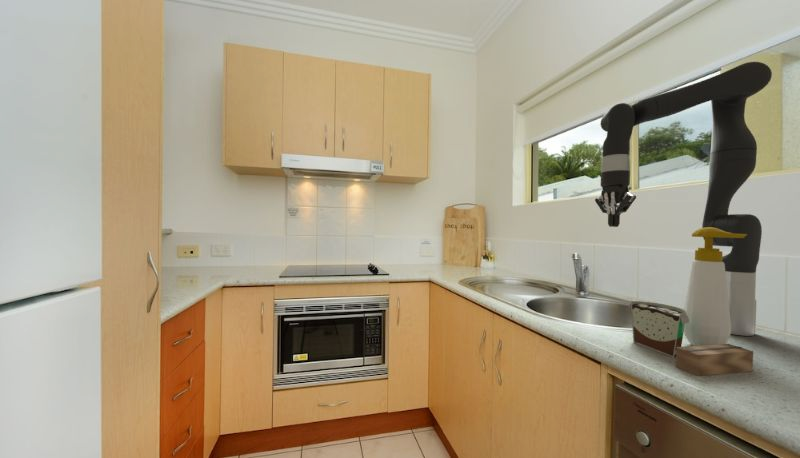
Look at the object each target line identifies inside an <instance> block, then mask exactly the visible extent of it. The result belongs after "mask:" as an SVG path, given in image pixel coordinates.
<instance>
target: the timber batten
mask: <svg viewBox="0 0 800 458" xmlns="http://www.w3.org/2000/svg"><path fill="white" fill-rule="evenodd" d="M753 366H754V351H753V350H750V349H747V348H744V347H742V346H737V345H734V344H730V343H726V344H718V345H702V346H693V345H691V346H688V345H687V346H681V347H676V357H675V368H678V369H681V370H683V371H685V372H687V373H691V374H693V375H695V376H697V377H699V376H700V377H701V376H712V375H721V374H722V375H723V374H735V373H744V372H746V373H747V372H753V371H754V368H753Z"/></svg>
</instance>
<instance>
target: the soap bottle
mask: <svg viewBox="0 0 800 458" xmlns="http://www.w3.org/2000/svg"><path fill="white" fill-rule="evenodd" d="M746 235H747V234H733V233H729V232H725V231H723V230H720V229H717V228H713V227H705V228H702V227H701V228H698V229H696V230H695V231H693V233H691V237H695V238H696V237H697V238H698V237H699V238H703V237H705V240H704V246H703V247H697V249H695V250H694V259H692V264H691V269H690V274H689V278H688V279H689V280H688V286H687V291H686V296H685V302H684V307H683V310H685V311H686V313H687V314H688V318H689V322H688V323H685V326H684V333H683V335H684V337H685V338H686V340H687V341H688V343H689V344H690V345H691V346H702V345H718V344H728V341H729V338H730V337H731V335H732V334H731V321H730V311H729V302H728V292H727V283H726V273H725V264H724V262H722V257H723V251H721V250H720V248H716V247H715V248H714V246H713V237H723V238H744V237H745V236H746Z"/></svg>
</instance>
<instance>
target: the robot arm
mask: <svg viewBox="0 0 800 458" xmlns="http://www.w3.org/2000/svg"><path fill="white" fill-rule="evenodd" d="M772 74H773V73H772V69H771V68H770V66H769V65H767V64H765V63H763V62H760V61H749V62H745V63H741V64H740V65H737V66H734V67H732V68H730V69H729V70H726V71H724V72H722V73H719V74H717V75H714V76H712V77H708V78H707V79H704V80H700V81H699V82H695V83H692V84H689V85H686V86H683V87H680V88H679V87H678V88H675V89H673V90H669V91H666V92H663V93H658V94H654V95H652V96H649V97H645V98H643V99H640V100H639V101H638V102H636V103H634V104H632V105H631V104H629V103H626V102H620V103H617V104H615V105H613V106H612V107H611V108H609V110H608V111H607V112H605V114H603V116H602V117H601V120H600V123H599V124H600V127H601V129H602V131H604V132H606V138H605V139H604V140H603V144H602V157H601V165H600V188H602V190H601V194H600V196H599V197H596V198H595V199H594V201H595V204H596V205H597V206H598V208H599V209H600V211H601V212H602V214H603V213H604V214H607V224H608V226H609V227H610V228H611V227H612V228H618V227H619V225H620V220H621V217H620V216H621V214H623V213H626V212H627V211H628V210H629V209H630V207H631V206H632V204H633V203H634V202H635V200H636V199H637V195H635V194H631V192H630V190H629V186H630V182H631V181H630V180H631V158H630V156H631V155H630V154H631V139H632V135H633V130H634V127H635V126H639V125H640V124H644V123H647V122H652V121H655V120H660V119H663V118H666V117H670V116H673V115H675V114H678V113H680V112H684V111H686V110H689V109H691V108H694V107H696V106H698V105H702V104H705V103H707V102H710V105H711V106H710V108H711V118H712V127H711V144H710V153H709V154H710V155H709V168H708V169H709V170H708V171H709V177H708V178H709V179H708V186H707V188H708V189H707V196H706V197H707V198H706V202H705V203H706V204H705V208H704V213H703V214H704V215H703V220H702V224H701V225H702V227H701V228H705V227H713V228H717V229H720V230H723V231H725V232H729V233H733V234H747V235H746V236H745V237H744V238H723V237H713V247H714V246H715V247H717V246H718V247H728V248H729V247H731V250H730V252H729V253H728V254H726V255H724V256H723V255H722V262H724V264H725V273H726V283H727V292H728V302H729V311H730V321H731V334H730V335H735V336H746V337H751V336H752V337H753V336H754V335H755V334H756V328H757V327H756V326H757V323H756V322H757V299H756V283H757V282H756V281H757V279H756V278H757V266H758V263H759V261H760V252H761V244H762V231H763V230H762V224H761V221H760V219H759V218H758V216H756V215H753V214H750V213H747V214H746V213H743V214H741V213H738V214H737V213H735V214H734V213H733V214H729V210H730V209H729V208H730V204H731V201H732V199H733V197H734V195H735V194H736V193H737V192H738V190H740V188H741V187H742V186H744V183H746V181H747V180H748V179H749V178H750V176H751V175H752V174H753V172H754V170H755V168H756V164H757V155H758V147H757V146H758V145H757V141H756V139H755V136H754V135H753V133H752V131H751V130H750V128H749V126H747V124H746V120H745V108H746V103H747V99H748V98H750V97H752V96H754V95H756V94H758V93H759V92H760V91H762V90H763V89H765V88H766V86H768V85H769V83H770V81H771V79H772V77H773V76H772ZM702 238H703V240H704V241H705V237H702Z"/></svg>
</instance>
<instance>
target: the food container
mask: <svg viewBox="0 0 800 458" xmlns="http://www.w3.org/2000/svg"><path fill="white" fill-rule="evenodd" d="M628 309H629V310H630V311H631V325H632V326H631V327H632V339H633V340H632V341H633V343H635V344H638V345H639V346H643V347H645V348H647V347H648V349H651V350H653V351H655V352H658V353H661V354H663V355H666V356H669V357H672V358H675V359H676V347H682V345H683V338H684V326H685V323H688V322H689V318H688V314H687V313H686V311H685V310H684V308H680V307H677V306H673V305H669V304H663V303H657V302H653V301H651V302H650V301H639V300H630V303H629V307H628Z"/></svg>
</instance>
